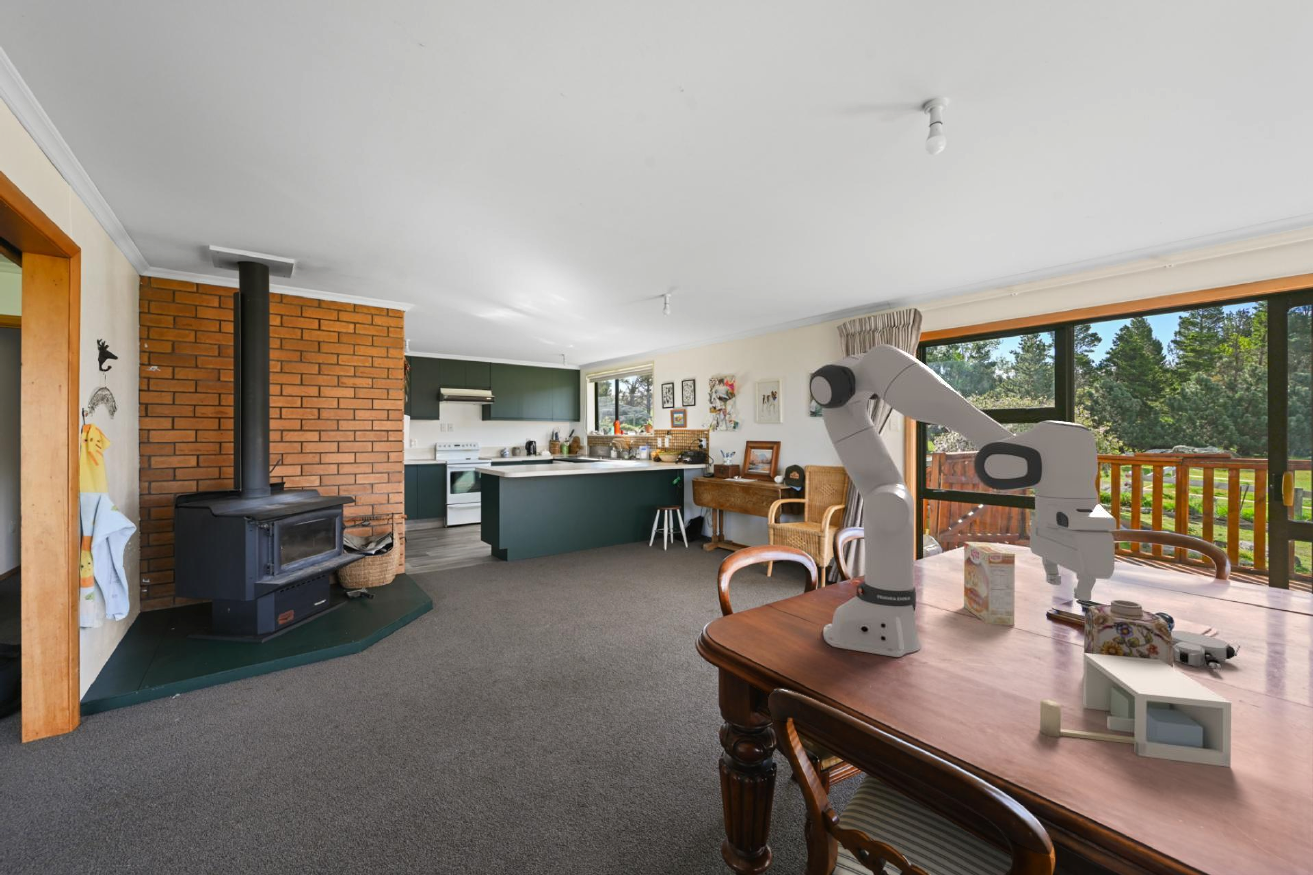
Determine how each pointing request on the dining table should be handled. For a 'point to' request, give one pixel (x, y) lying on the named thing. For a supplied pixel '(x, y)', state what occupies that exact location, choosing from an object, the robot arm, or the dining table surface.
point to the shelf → (1160, 686)
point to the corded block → (1159, 729)
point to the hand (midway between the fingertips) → (1067, 591)
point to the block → (1129, 703)
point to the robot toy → (1200, 649)
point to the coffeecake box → (989, 582)
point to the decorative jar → (1127, 632)
